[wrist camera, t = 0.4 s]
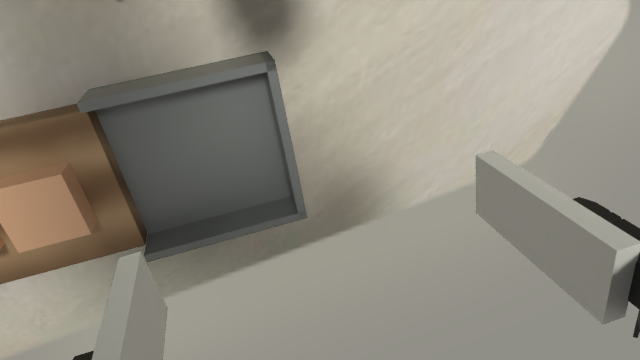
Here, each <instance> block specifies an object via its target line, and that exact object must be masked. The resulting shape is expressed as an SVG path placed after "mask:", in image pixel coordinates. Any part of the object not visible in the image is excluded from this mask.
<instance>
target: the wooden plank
mask: <svg viewBox="0 0 640 360" xmlns="http://www.w3.org/2000/svg"><path fill="white" fill-rule="evenodd" d="M67 162H69V163H70V165H71V167H72V169H73V171H74V173H75V175H76V177H77V179H78V181H79V183H80V185H81V187H82V189H83V192H84V194H85V196H86V198H87V200H88V202H89V204H90V206H91V208H92V210H93V212H94V214H95V216H96V218H97V221H96V224H95V226H94V229H93V231H92V234H90V235H86V236H82V237H78V238H74V239H71V240H67V241H63V242H59V243H55V244H52V245H48V246H44V247H40V248H36V249H32V250H29V251H25V252H21V253H18V251H17V249H16V248H15V246H14V244H13V243H12V241H11V240H10V238H9V236H8V235H7V233H6V232H5V230H4V228H3V227H2V225H1V223H0V236H1V237H2V239H3V240H4V242H5V244H4V246H3V247H2V249H1V250H0V284H3V283H6V282H10V281H14V280H18V279H21V278H25V277H29V276H32V275H36V274H40V273H43V272H47V271H51V270H54V269H58V268H62V267H66V266H69V265H73V264H77V263H80V262H84V261H88V260H91V259H95V258H99V257H103V256H106V255H110V254H114V253H117V252H121V251H125V250H128V249H132V248H136V247H140V246H143V245H145V243H146V237H147V231H146V229H145V226H144V224H143V222H142V219H141V217H140V215H139V212H138V210H137V208H136V205H135V203H134V201H133V198H132V196H131V194H130V191H129V189H128V187H127V184H126V182H125V180H124V177H123V175H122V173H121V170H120V168H119V166H118V163H117V161H116V158H115V156H114V154H113V151H112V149H111V147H110V144H109V142H108V140H107V137H106V135H105V133H104V130H103V128H102V126H101V123H100V121H99V119H98V116H97V114H96V112H95V110H93V111H89V112H84V113H80V110H79V108H78V106H77V104H75V105H70V106H66V107H61V108H56V109H52V110H47V111H43V112H38V113H34V114H29V115H24V116H20V117H15V118H11V119H6V120H2V121H0V178H4V177H8V176H12V175H17V174H21V173H25V172H29V171H33V170H38V169H42V168H46V167H50V166H55V165H59V164H63V163H67Z"/></svg>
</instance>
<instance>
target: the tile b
mask: <svg viewBox="0 0 640 360" xmlns="http://www.w3.org/2000/svg"><path fill="white" fill-rule="evenodd" d="M96 221H97V218H96V216H95V214H94V212H93V210H92V208H91V206H90V204H89V202H88V200H87V198H86V196H85V194H84V192H83V189H82V187H81V185H80V183H79V181H78V179H77V177H76V175H75V173H74V171H73V169H72V167H71V165H70V163H69V162H67V163H63V164H59V165H55V166H50V167H46V168H42V169H38V170H33V171H29V172H25V173H21V174H17V175H12V176H8V177H4V178H0V223H1V225H2V227H3V228H4V230H5V232H6V233H7V235H8V236H9V238H10V240H11V241H12V243H13V244H14V246H15V248H16V249H17V251H18V253H21V252H25V251H29V250H32V249H36V248H40V247H44V246H48V245H52V244H55V243H59V242H63V241H67V240H71V239H74V238H78V237H82V236H86V235H90V234H92V231H93V229H94V226H95V224H96Z"/></svg>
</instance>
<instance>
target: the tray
mask: <svg viewBox="0 0 640 360" xmlns="http://www.w3.org/2000/svg"><path fill="white" fill-rule="evenodd" d="M77 106H78V108H79V110H80V113H84V112H89V111H93V110H95V112H96V114H97V116H98V119H99V121H100V123H101V126H102V128H103V130H104V133H105V135H106V137H107V140H108V142H109V144H110V147H111V149H112V151H113V154H114V156H115V158H116V161H117V163H118V166H119V168H120V170H121V173H122V175H123V177H124V180H125V182H126V184H127V187H128V189H129V191H130V194H131V196H132V198H133V201H134V203H135V205H136V208H137V210H138V212H139V215H140V217H141V219H142V222H143V224H144V226H145V229H146V231H147V233H148V237H147V243H146V248H145V254H144V256H145V259H146V261H147V262H149V261H153V260H156V259H160V258H163V257H167V256H171V255H174V254H178V253H182V252H185V251H189V250H192V249H196V248H200V247H203V246H207V245H211V244H214V243H218V242H221V241H225V240H229V239H232V238H236V237H239V236H243V235H247V234H250V233H254V232H258V231H261V230H265V229H268V228H272V227H276V226H279V225H283V224H286V223H290V222H294V221H297V220H301V219H305V218H307V215H306V210H305V205H304V200H303V195H302V191H301V186H300V181H299V176H298V171H297V166H296V161H295V157H294V152H293V147H292V142H291V137H290V132H289V128H288V123H287V118H286V113H285V108H284V103H283V99H282V94H281V89H280V84H279V79H278V74H277V70H276V65H275V60H274V59H273V58H272V57H271V55H270V54H269V53H268V52H267V51H266V52H261V53H257V54H252V55H247V56H243V57H238V58H233V59H229V60H224V61H219V62H215V63H210V64H205V65H201V66H196V67H191V68H187V69H182V70H177V71H173V72H168V73H163V74H159V75H154V76H149V77H145V78H140V79H135V80H131V81H126V82H121V83H117V84H112V85H107V86H103V87H98V88H94V89H89V90H88V91H87V92H86V93H85V95H84V96H83V97H82V98H81V99H80V100H79V101H78V103H77Z"/></svg>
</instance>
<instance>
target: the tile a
mask: <svg viewBox="0 0 640 360" xmlns="http://www.w3.org/2000/svg"><path fill="white" fill-rule="evenodd" d="M4 244H5V242H4V240H3V239H2V237H1V236H0V250H1V249H2V247H3V246H4Z"/></svg>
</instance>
